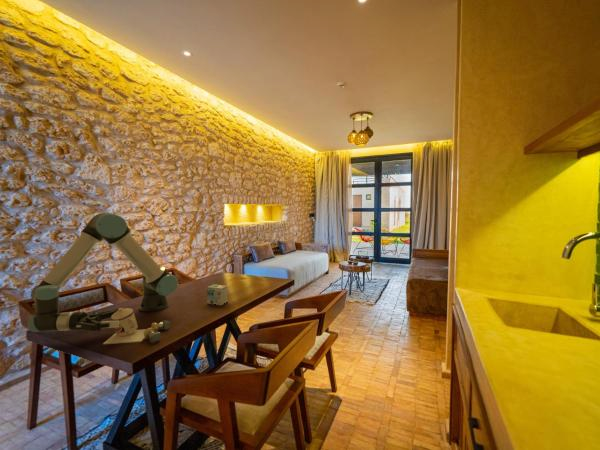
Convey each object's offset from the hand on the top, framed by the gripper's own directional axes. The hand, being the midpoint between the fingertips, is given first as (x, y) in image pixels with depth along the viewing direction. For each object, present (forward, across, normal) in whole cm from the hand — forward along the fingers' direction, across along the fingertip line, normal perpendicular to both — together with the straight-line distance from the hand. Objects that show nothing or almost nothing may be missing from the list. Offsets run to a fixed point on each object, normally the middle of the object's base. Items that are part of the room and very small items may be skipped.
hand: (125, 318), depth 126 cm
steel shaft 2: (+13, -6, -9) cm, 17 cm away
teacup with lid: (0, -3, -7) cm, 8 cm away
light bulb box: (+34, -44, -9) cm, 57 cm away
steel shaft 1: (+13, +5, -9) cm, 16 cm away
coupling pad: (+1, 0, -9) cm, 9 cm away
